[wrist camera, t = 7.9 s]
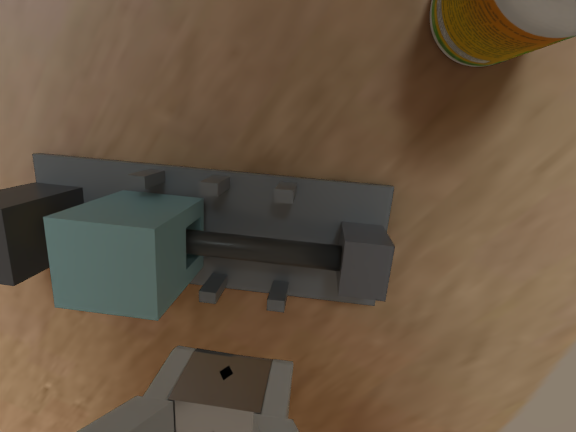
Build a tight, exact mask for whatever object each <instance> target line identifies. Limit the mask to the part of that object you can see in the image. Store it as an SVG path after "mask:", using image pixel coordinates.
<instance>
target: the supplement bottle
mask: <svg viewBox="0 0 576 432" xmlns="http://www.w3.org/2000/svg"><path fill="white" fill-rule="evenodd" d="M430 26H431V31H432V35H433V37H434V40H435V42H436V43H437V45H438V47H439V48H440V49H441V51H442V52H443V53H444V54H445V55H446V56H447V57H449V58H450V59H452V60H453V61H455V62H457V63H460V64H463V65H467V66H473V67H483V66H490V65H494V64H497V63H501V62H504V61H507V60H509V59H512V58H515V57H517V56H520V55H523V54H526V53H529V52H532V51H534V50H537V49H540V48H543V47H546V46H549V45H552V44H555V43H557V42H560V41H563V40H566V39H569V38H572V37H575V36H576V0H432V2H431V8H430Z"/></svg>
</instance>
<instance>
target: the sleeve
mask: <svg viewBox="0 0 576 432" xmlns="http://www.w3.org/2000/svg"><path fill="white" fill-rule="evenodd" d="M43 221H44V229H45V236H46V244H47V251H48V259H49V266H50V274H51V281H52V289H53V296H54V304H55V307H56V308H64V309H72V310H79V311H87V312H95V313H102V314H110V315H118V316H126V317H133V318H141V319H149V320H156V321H158V320H159V319H160V318H161V316H162V315H163V314H164V313H165V312H166V310H167V309H168V308H169V307H170V306H171V304H172V303H173V302H174V301H175V300H176V298H177V297H178V296H179V295H180V294H181V293H182V291H183V290H184V289H185V288H186V287H187V285H188V284H189V283H190V282H191V281H192V279H193V278H194V277H195V276H196V275H197V273H198V272H199V271H200V270H201V269H202V267H203V256H199V255H190V254H186V229H191V230H201V231H204V198H197V197H187V196H177V195H167V194H157V193H147V192H137V191H127V190H122V191H119V192H116V193H113V194H110V195H107V196H104V197H101V198H98V199H95V200H92V201H89V202H86V203H83V204H81V205H78V206H75V207H72V208H69V209H66V210H63V211H60V212H57V213H54V214H51V215H48V216H45V217H43Z"/></svg>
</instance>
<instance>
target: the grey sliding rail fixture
mask: <svg viewBox="0 0 576 432" xmlns="http://www.w3.org/2000/svg"><path fill="white" fill-rule="evenodd" d="M33 162H34V169H35V176H36V182H35V183H30V184H25V185H20V186H15V187H11V188H6V189H1V190H0V284H3V285H10V286H15V285H17V284H19V283H21V282H23V281H24V280H26V279H28V278H30V277H32V276H34V275H36V274H38V273H40V272H41V271H43V270H45V269H47V268H49V267H50V266H49V259H48V251H47V244H46V236H45V229H44V221H43V217H45V216H48V215H51V214H54V213H57V212H60V211H63V210H66V209H69V208H72V207H75V206H78V205H81V204H83V203H86V202H89V201H92V200H95V199H98V198H101V197H104V196H107V195H110V194H113V193H116V192H119V191H122V190H127V191H137V192H147V193H157V194H167V195H177V196H187V197H197V198H204V231H201V230H191V229H186V254H190V255H199V256H203V267H202V269H201V270H200V271H199V272H198V273H197V275H196V276H195V277H194V278H193V279H192V281H191V282H190V283H189V284H197V285H203V286H202V288H201V289H200V290H199V302H204V303H213V304H216V303H217V301H218V299H219V298H220V296H221V294H222V292H223V291H224V289H225V288H230V289H238V290H247V291H255V292H263V293H269V296H268V299H267V310H269V311H277V312H284V310H285V305H286V300H287V295H288V296H297V297H305V298H313V299H322V300H330V301H338V302H347V303H355V304H363V305H371V306H375V300H378V301H385V300H386V294H387V288H388V283H389V277H390V271H391V266H392V260H393V254H394V249H395V246H394V244H393V243H392V241H391V239H390V237H389V236H388V234H387V228H388V222H389V216H390V210H391V204H392V198H393V192H394V187H393V186H389V185H378V184H368V183H357V182H346V181H335V180H324V179H313V178H302V177H292V176H281V175H270V174H259V173H248V172H237V171H227V170H216V169H205V168H194V167H183V166H172V165H161V164H151V163H140V162H129V161H118V160H107V159H96V158H86V157H75V156H64V155H53V154H42V153H36V154H33Z"/></svg>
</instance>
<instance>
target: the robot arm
mask: <svg viewBox="0 0 576 432" xmlns="http://www.w3.org/2000/svg"><path fill="white" fill-rule="evenodd" d="M292 373H293V361H285V360H277V359H266V358H258V357H251V356H243V355H235V354H229V353H223V352H216V351H210V350H204V349H198V348H197V349H195V348H189V347H183V346H177V347H176V348H174V349H173V350H172V352H171V353H170V355H169V356H168V358H167V360H166V361H165V363H164V364H163V366H162V367H161V369H160V370H159V372H158V374H157V375H156V377H155V378H154V380H153V381H152V383H151V384H150V386H149V388H148V389H147V391H146V392H145V394H144V395H143V396H135V397H134V398H132V399H130V400H129V401H127V402H125V403H124V404H122V405H120V406H119V407H117V408H115V409H114V410H112V411H110V412H109V413H107V414H105V415H104V416H102V417H100V418H99V419H97V420H95V421H94V422H92V423H90V424H89V425H87V426H85V427H84V428H82V429H80V430H79V431H77V432H299V430H298V428H297V426H296V425H295V423H294V421H293V419H288V415H289V405H290V394H291V384H292Z"/></svg>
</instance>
